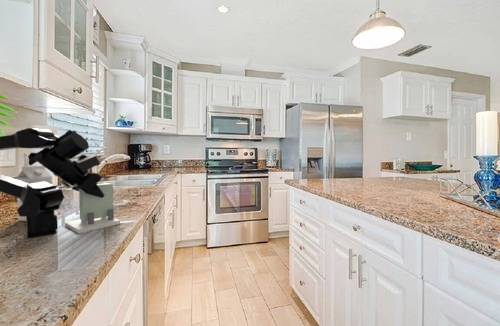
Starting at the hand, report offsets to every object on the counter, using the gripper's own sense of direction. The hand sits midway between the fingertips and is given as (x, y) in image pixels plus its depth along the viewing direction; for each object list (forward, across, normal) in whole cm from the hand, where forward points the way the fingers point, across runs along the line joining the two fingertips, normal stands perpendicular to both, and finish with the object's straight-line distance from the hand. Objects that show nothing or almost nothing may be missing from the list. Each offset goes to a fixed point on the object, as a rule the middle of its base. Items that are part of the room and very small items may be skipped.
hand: (101, 196), depth 83 cm
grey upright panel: (+4, 0, +6) cm, 7 cm away
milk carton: (-2, +24, +16) cm, 29 cm away
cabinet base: (+4, 0, +8) cm, 10 cm away
